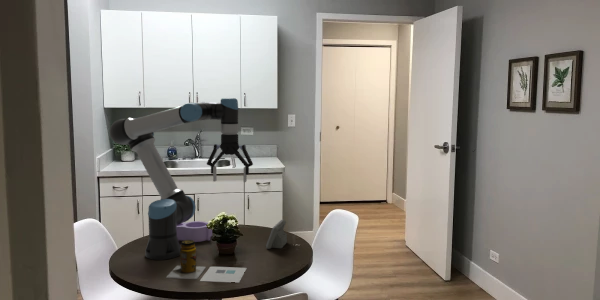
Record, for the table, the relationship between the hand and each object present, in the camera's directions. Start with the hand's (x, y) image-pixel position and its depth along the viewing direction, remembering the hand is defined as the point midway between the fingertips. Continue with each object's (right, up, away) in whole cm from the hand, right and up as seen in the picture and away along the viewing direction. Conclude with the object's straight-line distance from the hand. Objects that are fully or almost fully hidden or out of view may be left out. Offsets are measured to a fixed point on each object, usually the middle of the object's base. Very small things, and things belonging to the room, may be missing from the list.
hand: (229, 181), depth 209 cm
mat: (-14, -34, -23) cm, 44 cm away
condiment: (-14, -34, -23) cm, 43 cm away
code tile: (+1, -35, -24) cm, 42 cm away
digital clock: (+20, -31, +13) cm, 39 cm away
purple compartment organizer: (-22, -30, +22) cm, 43 cm away
